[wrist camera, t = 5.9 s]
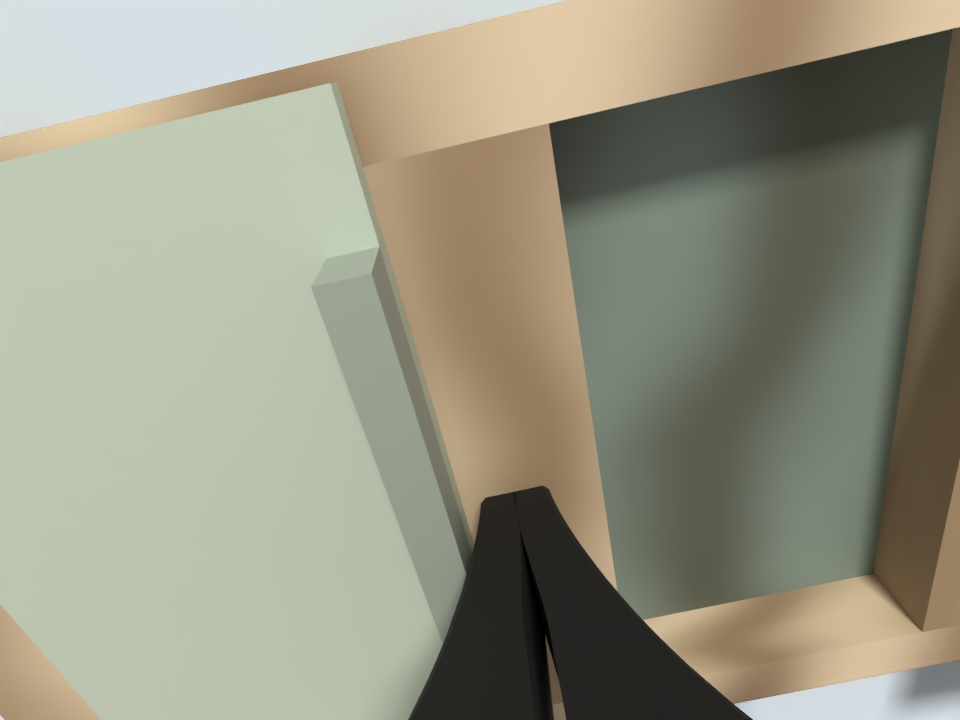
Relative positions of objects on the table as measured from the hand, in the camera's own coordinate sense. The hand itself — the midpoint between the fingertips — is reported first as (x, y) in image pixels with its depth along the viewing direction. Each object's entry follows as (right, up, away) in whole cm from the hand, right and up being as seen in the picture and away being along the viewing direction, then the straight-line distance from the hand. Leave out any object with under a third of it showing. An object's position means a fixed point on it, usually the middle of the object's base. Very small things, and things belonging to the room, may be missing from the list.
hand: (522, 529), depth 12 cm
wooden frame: (-1, +1, +3) cm, 3 cm away
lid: (-6, -1, 0) cm, 6 cm away
